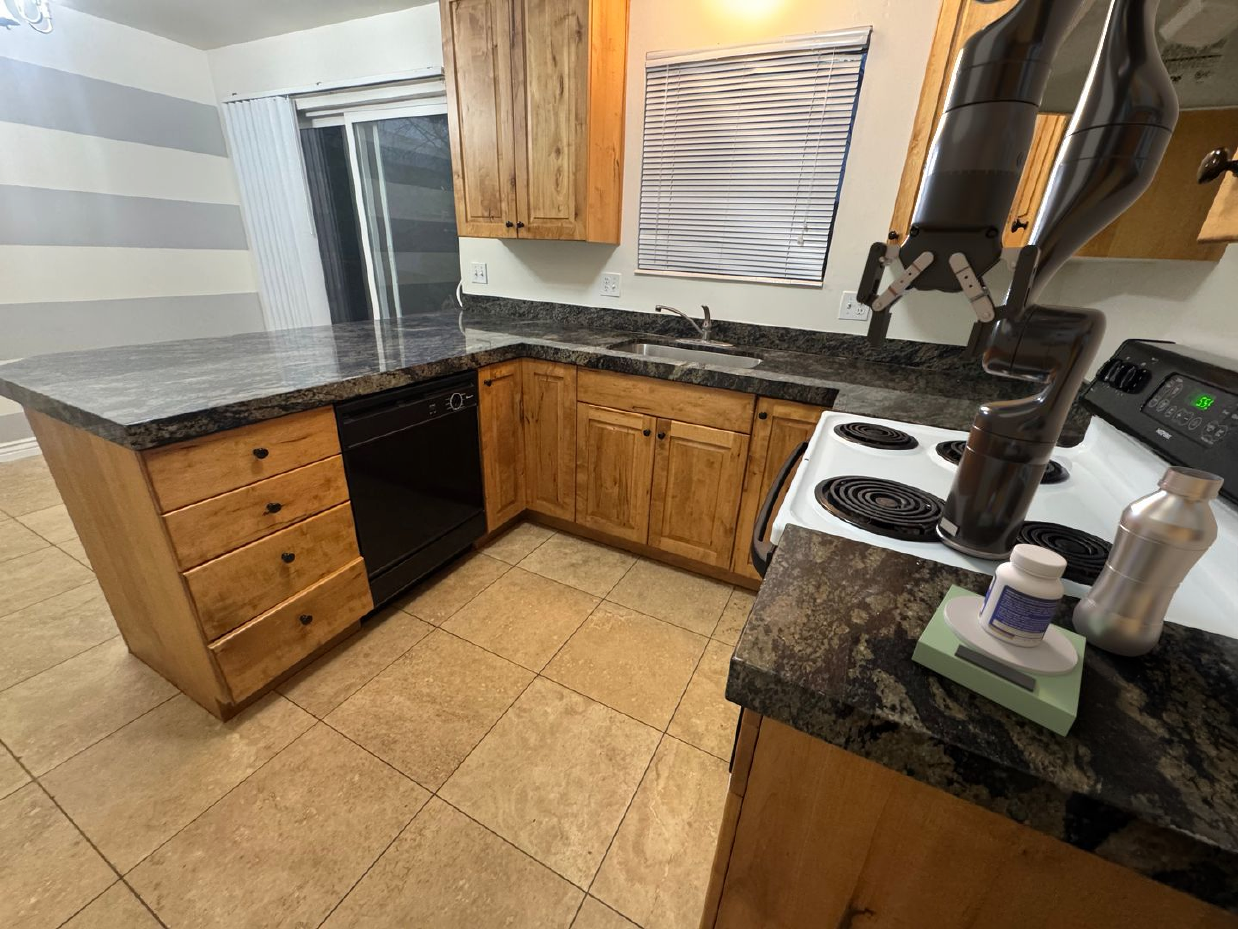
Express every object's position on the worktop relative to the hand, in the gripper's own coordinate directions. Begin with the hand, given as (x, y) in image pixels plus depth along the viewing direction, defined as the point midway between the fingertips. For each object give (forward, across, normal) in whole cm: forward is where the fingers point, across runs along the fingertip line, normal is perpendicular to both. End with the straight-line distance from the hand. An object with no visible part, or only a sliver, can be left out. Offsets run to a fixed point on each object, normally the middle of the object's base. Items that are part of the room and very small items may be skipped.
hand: (919, 354), depth 51 cm
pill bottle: (+25, -15, +1) cm, 29 cm away
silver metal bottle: (+28, -23, -10) cm, 38 cm away
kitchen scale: (+28, -15, +2) cm, 32 cm away
